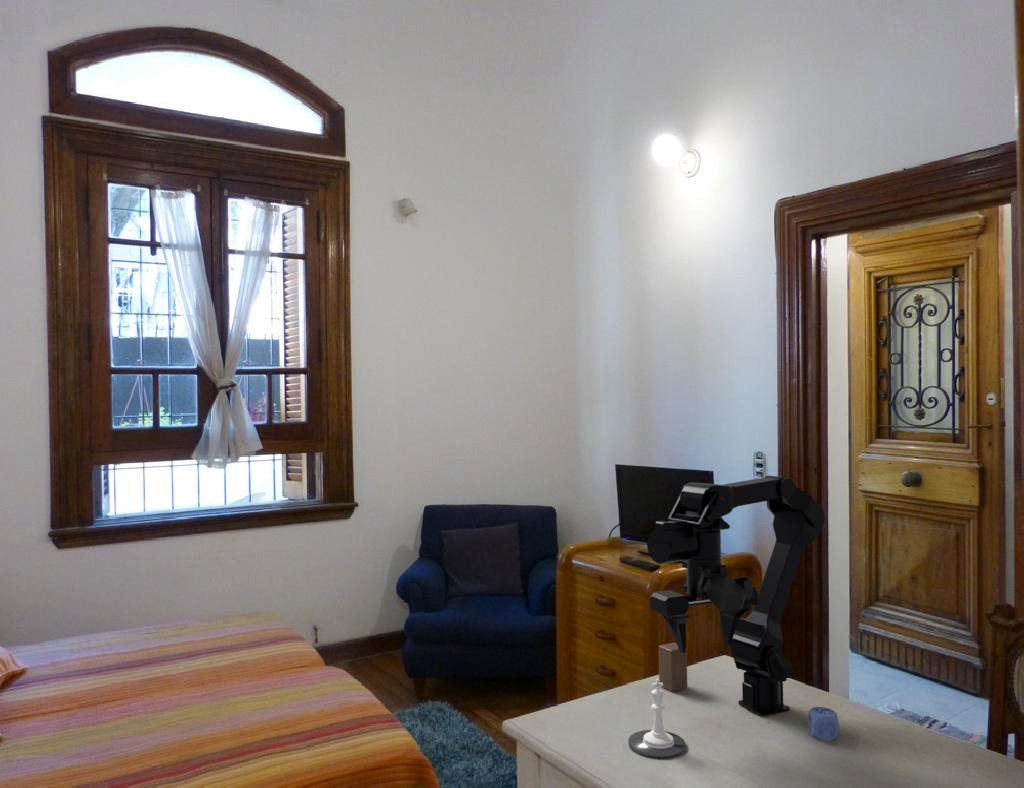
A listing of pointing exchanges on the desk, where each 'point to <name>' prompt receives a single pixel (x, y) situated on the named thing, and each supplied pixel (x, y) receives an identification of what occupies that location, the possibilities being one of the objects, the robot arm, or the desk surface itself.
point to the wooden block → (672, 667)
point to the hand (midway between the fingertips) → (705, 648)
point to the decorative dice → (823, 723)
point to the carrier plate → (644, 750)
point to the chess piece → (658, 723)
